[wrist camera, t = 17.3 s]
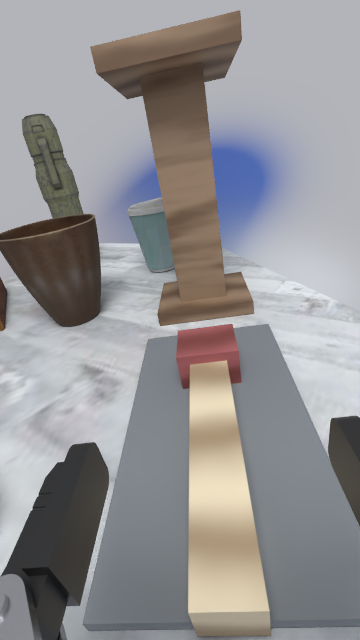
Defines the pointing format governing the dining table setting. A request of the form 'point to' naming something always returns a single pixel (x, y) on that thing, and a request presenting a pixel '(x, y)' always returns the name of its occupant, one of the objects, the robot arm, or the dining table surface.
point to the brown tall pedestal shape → (183, 154)
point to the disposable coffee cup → (152, 234)
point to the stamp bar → (219, 493)
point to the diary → (2, 304)
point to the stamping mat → (265, 493)
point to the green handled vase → (51, 166)
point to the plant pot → (58, 265)
